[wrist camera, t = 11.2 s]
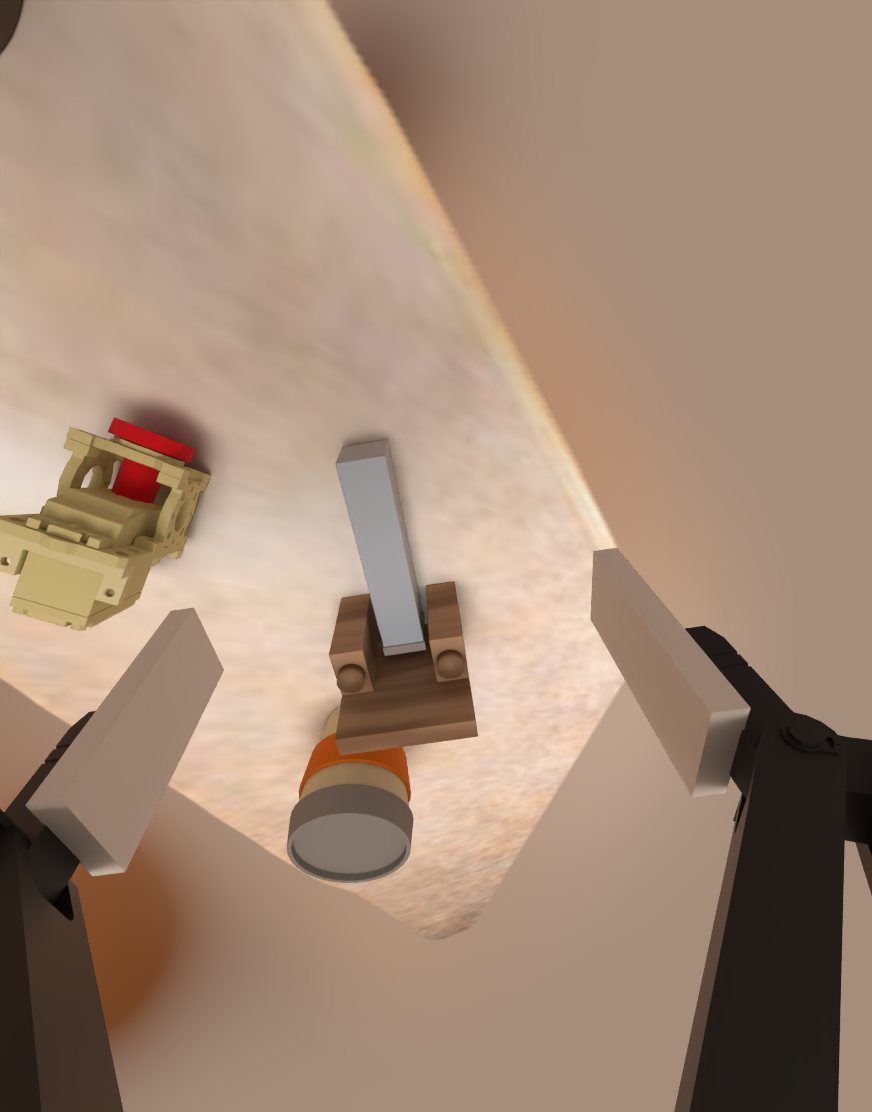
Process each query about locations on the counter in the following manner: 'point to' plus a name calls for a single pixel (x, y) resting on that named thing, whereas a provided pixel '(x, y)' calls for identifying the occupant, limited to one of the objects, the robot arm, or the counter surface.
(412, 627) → the rail
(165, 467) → the mechanical component
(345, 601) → the wooden bracket with knobs
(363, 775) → the reusable coffee cup
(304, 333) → the counter surface
